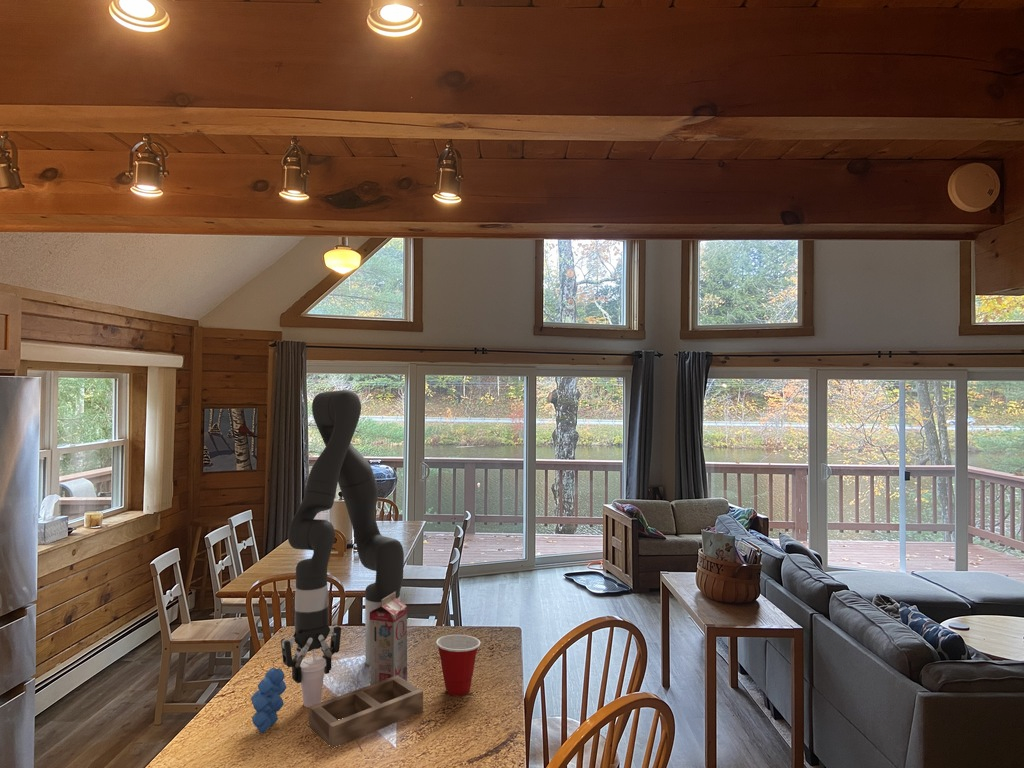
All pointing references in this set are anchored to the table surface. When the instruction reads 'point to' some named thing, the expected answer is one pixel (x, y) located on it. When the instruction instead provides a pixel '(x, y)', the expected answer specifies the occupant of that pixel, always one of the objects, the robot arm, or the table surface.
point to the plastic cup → (457, 662)
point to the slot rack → (365, 710)
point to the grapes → (268, 699)
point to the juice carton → (388, 640)
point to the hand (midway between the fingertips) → (311, 677)
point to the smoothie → (312, 679)
